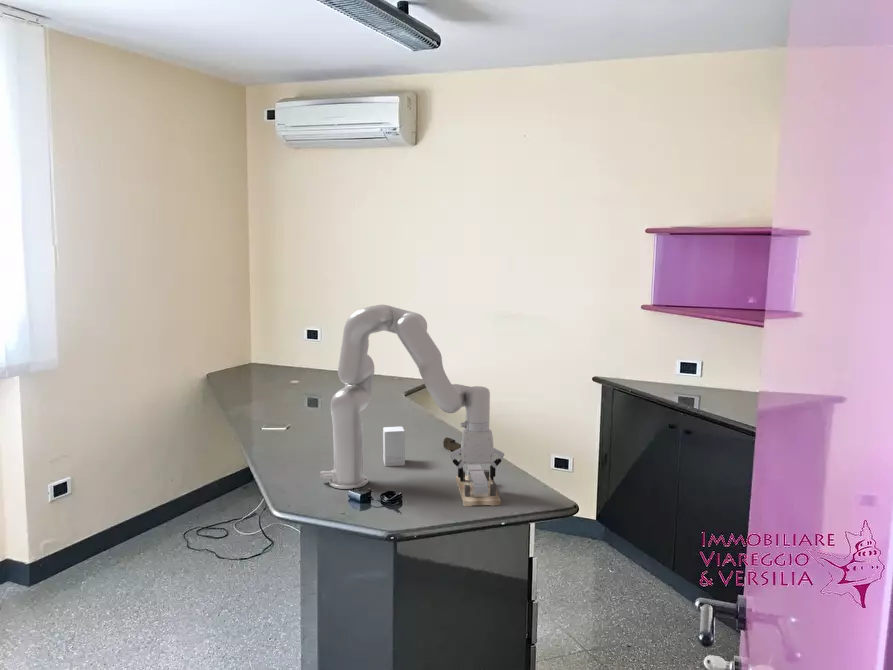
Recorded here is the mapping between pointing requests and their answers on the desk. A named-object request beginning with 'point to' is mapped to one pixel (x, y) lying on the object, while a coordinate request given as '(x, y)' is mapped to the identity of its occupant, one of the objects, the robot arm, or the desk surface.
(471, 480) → the light grey long block
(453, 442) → the hand tool
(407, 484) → the desk surface
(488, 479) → the board
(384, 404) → the desk surface
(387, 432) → the supplement box
